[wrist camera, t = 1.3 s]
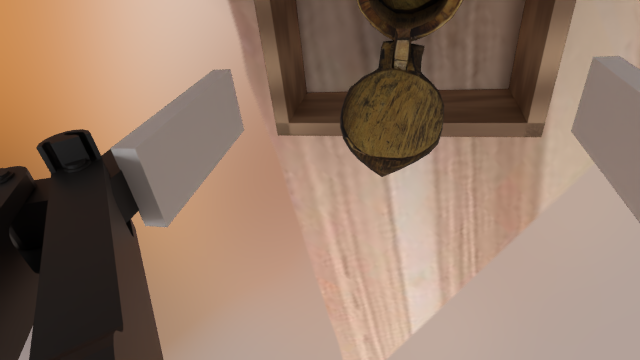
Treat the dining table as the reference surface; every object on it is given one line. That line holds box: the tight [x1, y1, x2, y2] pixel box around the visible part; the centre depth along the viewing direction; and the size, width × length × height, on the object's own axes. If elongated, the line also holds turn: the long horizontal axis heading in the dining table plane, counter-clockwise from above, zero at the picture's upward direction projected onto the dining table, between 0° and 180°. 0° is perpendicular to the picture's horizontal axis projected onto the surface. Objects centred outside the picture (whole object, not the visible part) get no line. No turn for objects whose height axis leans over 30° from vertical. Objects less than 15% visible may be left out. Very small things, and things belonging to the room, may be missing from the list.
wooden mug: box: [340, 0, 463, 177], centre depth 25 cm, size 9×14×18 cm, turn 178°
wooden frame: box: [254, 0, 576, 137], centre depth 29 cm, size 19×21×7 cm
